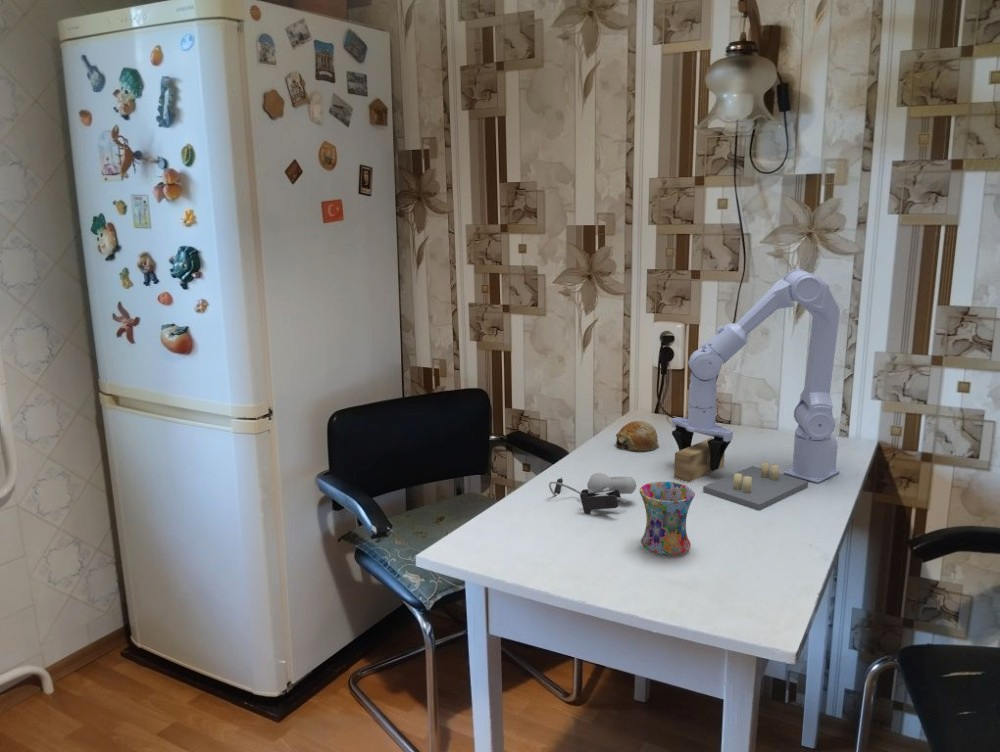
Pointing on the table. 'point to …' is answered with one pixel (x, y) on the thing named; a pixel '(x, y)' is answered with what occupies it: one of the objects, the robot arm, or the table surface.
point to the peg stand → (756, 486)
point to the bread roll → (637, 437)
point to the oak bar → (693, 461)
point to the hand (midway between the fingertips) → (699, 464)
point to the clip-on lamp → (601, 491)
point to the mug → (666, 517)
